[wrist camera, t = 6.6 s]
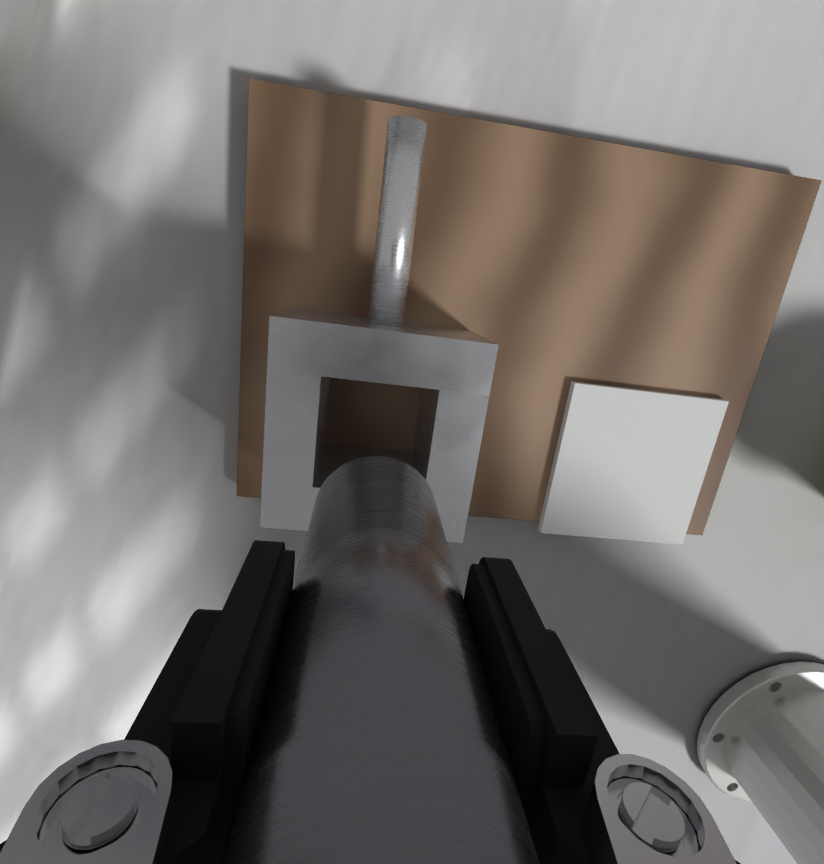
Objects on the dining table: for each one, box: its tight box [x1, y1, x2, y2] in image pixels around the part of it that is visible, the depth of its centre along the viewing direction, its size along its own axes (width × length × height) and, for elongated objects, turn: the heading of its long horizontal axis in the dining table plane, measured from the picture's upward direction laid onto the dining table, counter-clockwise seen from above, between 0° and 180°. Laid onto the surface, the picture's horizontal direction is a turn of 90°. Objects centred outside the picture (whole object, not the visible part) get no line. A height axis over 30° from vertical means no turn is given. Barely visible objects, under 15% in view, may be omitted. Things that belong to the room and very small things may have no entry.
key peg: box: [221, 456, 539, 864], centre depth 8 cm, size 3×3×12 cm
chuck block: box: [260, 116, 498, 543], centre depth 22 cm, size 9×17×6 cm, turn 173°
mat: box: [538, 381, 729, 545], centre depth 28 cm, size 9×9×1 cm
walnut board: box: [237, 78, 821, 535], centre depth 26 cm, size 28×20×1 cm
